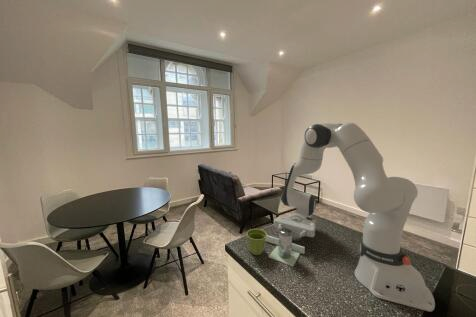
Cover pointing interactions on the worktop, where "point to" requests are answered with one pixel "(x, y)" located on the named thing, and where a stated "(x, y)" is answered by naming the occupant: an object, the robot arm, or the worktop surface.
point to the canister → (285, 243)
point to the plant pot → (256, 240)
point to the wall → (294, 246)
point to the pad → (289, 261)
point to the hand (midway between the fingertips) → (289, 232)
